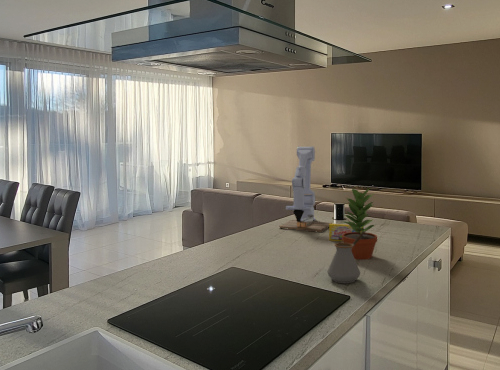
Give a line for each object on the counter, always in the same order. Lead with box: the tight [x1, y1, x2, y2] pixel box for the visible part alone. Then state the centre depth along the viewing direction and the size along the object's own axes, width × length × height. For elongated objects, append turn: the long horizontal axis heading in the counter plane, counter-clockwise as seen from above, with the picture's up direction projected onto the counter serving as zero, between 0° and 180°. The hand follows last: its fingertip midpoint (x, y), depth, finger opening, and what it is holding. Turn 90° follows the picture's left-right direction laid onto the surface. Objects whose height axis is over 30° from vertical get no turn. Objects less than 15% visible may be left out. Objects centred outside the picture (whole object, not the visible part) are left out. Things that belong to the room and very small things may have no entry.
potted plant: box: [340, 186, 378, 261], centre depth 189 cm, size 15×15×30 cm
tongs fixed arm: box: [301, 214, 315, 227], centre depth 251 cm, size 17×4×4 cm, turn 153°
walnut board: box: [278, 219, 333, 233], centre depth 251 cm, size 19×24×2 cm
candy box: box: [328, 223, 365, 242], centre depth 217 cm, size 16×2×8 cm, turn 73°
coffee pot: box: [327, 231, 368, 284], centre depth 164 cm, size 21×12×15 cm, turn 139°
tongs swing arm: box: [297, 218, 309, 227], centre depth 250 cm, size 13×2×2 cm, turn 153°
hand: (298, 223), depth 249 cm, fingers closed
